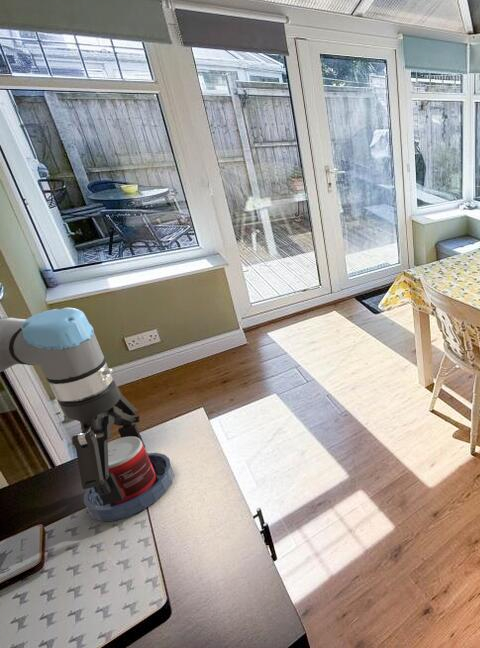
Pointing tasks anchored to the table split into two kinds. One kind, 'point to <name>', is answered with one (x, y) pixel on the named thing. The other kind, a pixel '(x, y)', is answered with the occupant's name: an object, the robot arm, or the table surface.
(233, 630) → the table surface
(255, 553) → the table surface
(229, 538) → the table surface
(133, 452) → the canned food
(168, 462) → the bowl
